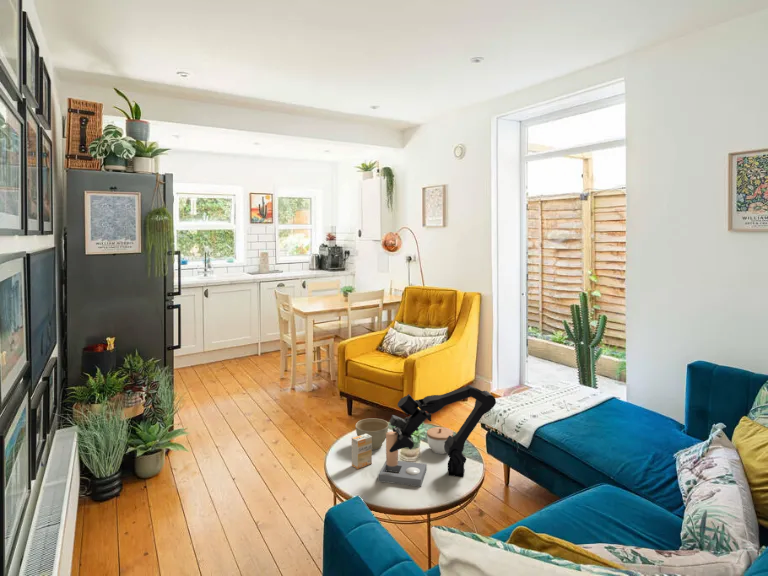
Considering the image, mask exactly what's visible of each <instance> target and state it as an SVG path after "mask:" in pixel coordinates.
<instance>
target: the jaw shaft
mask: <svg viewBox="0 0 768 576" xmlns="http://www.w3.org/2000/svg"><path fill="white" fill-rule="evenodd" d="M397 436H398V433H397V432H393V431H388V432H387V433H386V439H385V454H386V455H385V456H386V457H385V462H386V464H387V465H388V466H397V465H398V461H399V450H397V451H394V452H390V451H389V450H390V449H391V447H392V446H393V445H394V443H395V442H396V440H397Z"/></svg>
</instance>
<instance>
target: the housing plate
mask: <svg viewBox="0 0 768 576" xmlns="http://www.w3.org/2000/svg"><path fill="white" fill-rule="evenodd" d="M427 466H428V465H427V463H421V462H415V461H412V462H411V461H404V460H398V465H397V466H388V465H387V464H386V461H385V462H384V464H383V466H382V467H381V469H380V470H379V473H378V482H382V483H389V484H390V483H391V484H398V485H405V486H413V487H420V488H421V487H422V484H423V481H424V478H425V476H426V474H427V471H428V469H427V468H428V467H427ZM394 472H395V473H394Z"/></svg>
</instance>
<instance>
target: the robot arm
mask: <svg viewBox="0 0 768 576" xmlns="http://www.w3.org/2000/svg"><path fill="white" fill-rule="evenodd" d="M469 398H473V399H475V401H474V407H473V408H472V410H471V412H470V413H469V415H468V416H467V418H466V419H465V421H464V422H463V424H462V425H461V427H460V428H459V429H458V431H457V432H456V434H455V435H453V437H451V436H450V435H449V437H448V439H447V440H446V441H445V442H444V443H445V445H444V450H445V452H446V453H445V454H446V455H447V456H448V458H449V460H447V461H448V462H447V473H448V476H451V477H460V478H464V477H465V470H466V469H465V464H466V461H467V458H466V456H465V455H464V453H463V452H464V449H465V444H466V441H467V440H468V438H469V437H470V435H471V434H472V432H473V431H474V430H475V428H476V427H477V425H478V423H479V422H480V420H481V419H482V417H483V416H484V415H485V414H487V413H488V412H490V411H491V410H492V409H493V408H494V407H495V405H496V404H497V401H496V398H495V396H494V395H493V394H492V393H490V392H489V391H487V390H481V389H479V388H476V387H475V386H472V385H470V384H469V385H466V386H463V387H461V388H458V389H456V390H451V391H449V392H446V393H444V394H443V393H442V394H431V395H427V396H426V395H425V397H423V398H420V399H414V398H413V396H411V395H410V394H407V395H406V396H403V397H401V398H400V399H399V401H398V402H397V408H399V409H400V410H401V411H402V412H403V413H404V414H406V415H407V416H406V417H404V418H402V417H400V416H397V415H394V414H391V417H390V420H389V422H388V423H389V424H390V426H392V432H397V433H398V436H397V440H396V442H395V443H394V445H393V446H392V447H391V449H390V450H389V451H390V452H394V451H397V450H398V451H400V450H402V449H404V448H405V449H406V448H408V449H409V450H411V451H412V449H413V448H414V447H415V444H414V441H413V440H412V438H413V436H412V435H413V434H414V433H415V432H419V430H420V429H419V428H420V426H421V425H423V424H424V422H425V421H426V420H428V421H429V422H432V415H433V414H436V413H437V412H439V411H441V410H442V409H443V408H444V407H446V406H448V405H451V404H455V403H457V402H460V401H462V400H465V399H469Z"/></svg>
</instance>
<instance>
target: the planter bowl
mask: <svg viewBox="0 0 768 576" xmlns="http://www.w3.org/2000/svg"><path fill="white" fill-rule="evenodd" d="M355 431H356V437H357V436H360V435H363V434H368V435H370V436H372V450H377V449H380V448H382V446H383V443H384V442H386V433H387V432H389V422H388V421H387V420H384V419H382V418H376V417H375V418H373V417H372V418H364V419H361V420H358V421H357V422H356V423H355Z"/></svg>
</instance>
